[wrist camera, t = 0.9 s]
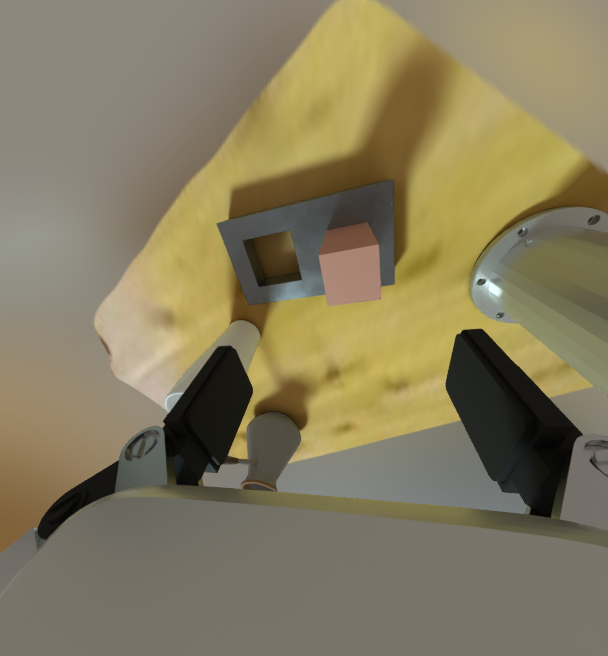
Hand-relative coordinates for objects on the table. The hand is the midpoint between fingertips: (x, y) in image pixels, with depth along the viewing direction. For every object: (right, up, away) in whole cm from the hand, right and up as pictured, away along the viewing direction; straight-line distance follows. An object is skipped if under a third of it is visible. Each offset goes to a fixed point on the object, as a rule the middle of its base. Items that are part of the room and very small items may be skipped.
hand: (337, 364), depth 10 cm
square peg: (+3, +10, +14) cm, 17 cm away
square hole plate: (-1, +11, +17) cm, 20 cm away
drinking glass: (-11, +1, +26) cm, 28 cm away
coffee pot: (-10, -15, +37) cm, 41 cm away
